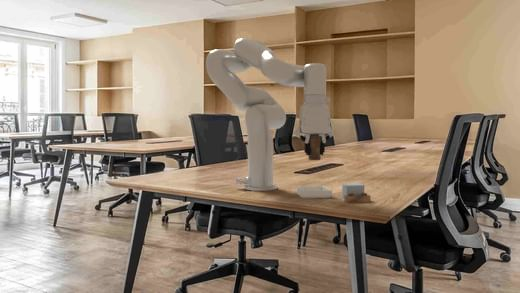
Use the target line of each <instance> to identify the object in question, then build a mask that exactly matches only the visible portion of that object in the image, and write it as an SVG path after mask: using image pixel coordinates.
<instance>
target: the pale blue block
mask: <svg viewBox="0 0 520 293" xmlns="http://www.w3.org/2000/svg"><path fill="white" fill-rule="evenodd" d="M341 187H342V191H341V196H342V197H341V198H342V199H343V200H344V195H348V193H353V194H354V195H361V193H365V184H362V183H361V182H359V183H358V182H357V183H356V182H355V183H354V182H352V183H351V182H350V183H342V186H341Z"/></svg>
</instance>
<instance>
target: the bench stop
mask: <svg viewBox="0 0 520 293" xmlns="http://www.w3.org/2000/svg"><path fill="white" fill-rule="evenodd" d="M343 201H344V202H345V203H371V195H370V194H367V192H364V193H361V195H354V194H353V193H348V195H344V199H343Z"/></svg>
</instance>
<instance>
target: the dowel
mask: <svg viewBox="0 0 520 293" xmlns="http://www.w3.org/2000/svg"><path fill="white" fill-rule="evenodd" d="M309 144H310V155H308V161H321V155H320V144H321V136H319V135H310V137H309Z"/></svg>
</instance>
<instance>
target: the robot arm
mask: <svg viewBox="0 0 520 293" xmlns="http://www.w3.org/2000/svg"><path fill="white" fill-rule="evenodd" d="M232 49H233V50H230V49H224V48H220V49H218V48H217V49H213V50H211V51H210V52H209V53H208V54H207V56H206V60H205V67H206V72H207V75H208V76H209V79H210V80H211V81H212V83H214V85H215V86H216V87H217V88H218V89H219V90H220V91H221V93H223V95H225V97H226V98H227V99H228V100H229V101H230V102H231V103H232V104H233V106H234V107H235V108H236V109H237V110H239V111H241V112H245V114H244V115H245V116H244V121H245V122H244V123H245V127H246V134H247V175H246V177H243V178H235V184H240V185H241V184H242V185H243V184H244V185H243V189H244V190H247V191H254V192H267V191H274V190H277V189H278V185H277V184H276V183H275V184H274V139H273V135H272V132H271V130H279V129H280V128H282V127H284V125H285V123H286V121H287V115H286V111H285V110H284V108H283V106H282V105H281V104H280V103H279V102H278V101H277V100H276V99H275V98H274V97H273V96H272V95H271V94H270V93H269V92H267V91H266V90H265V89H264V88H260V87H255V86H249V85H247V84H245V82H244V81H242V80H241V79H240V78H239V76H238V75H236V73H237V74H238V73H239V74H240V73H242V72H245V71H247V70H249V69H251V68H255V69H257V70H259V71H260V73H261V74H262V75H263V76H265V77H266V78H268V79H269V80H271V81H272V82H275V83H276V84H279V85H281V86H285V87H293V88H303V104H301V105H300V110H299V117H298V118H299V119H298V127H297V129H296V130H295V131H294V133H293V135H294V136H296V137H297V138H298V139H300V140H301V141H302V142H303V143H304V147H303V148H304V153H305V155H306V156H309V155H310V144H309V137H310V136H311V135H318V136H321V144H320V156H323V155H324V153H325V147H326V145H325V144H326V143H327V142H328V140H329V139H330V138H332V137H333V136H335V134H336V133H335V131H334V130H333V128H332V126H331V116H330V110H329V104H327V102H331V97H328V96H327V66H326V65H325V64H323V63H321V62H320V63H318V62H316V63H315V62H314V63H307V64H305V65H299V64H293V63H288V62H285V61H283V60H281V59H280V58H277V57H276V54H275V53H276V52H275V51H274V49H271V48H269V47H268V46H267V45H266V44H265V43H264V42H263V41H262V40H259V39H253V38H249V37H241V38H238V39H237V40H236V41H235V42H234V45H233V47H232ZM302 134H303V135H302Z"/></svg>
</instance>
